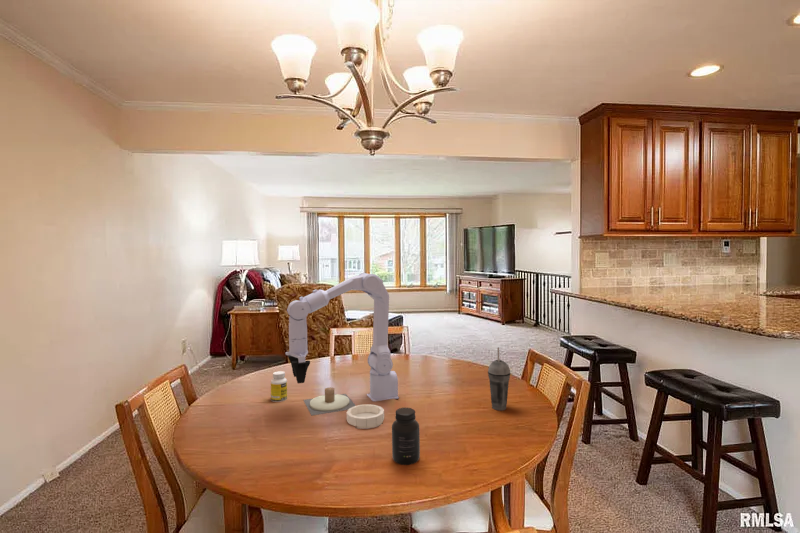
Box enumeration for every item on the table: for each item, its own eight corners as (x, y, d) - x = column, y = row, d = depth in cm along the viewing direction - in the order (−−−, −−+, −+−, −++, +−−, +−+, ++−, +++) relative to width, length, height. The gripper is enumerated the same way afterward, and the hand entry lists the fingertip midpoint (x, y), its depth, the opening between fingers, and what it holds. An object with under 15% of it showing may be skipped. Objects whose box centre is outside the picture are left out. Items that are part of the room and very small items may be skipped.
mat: (345, 395, 147) (345, 393, 147) (357, 409, 133) (357, 407, 133) (303, 401, 141) (303, 399, 141) (311, 417, 128) (311, 415, 127)
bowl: (376, 411, 132) (376, 402, 131) (389, 424, 121) (388, 414, 121) (343, 417, 127) (342, 407, 127) (353, 431, 117) (353, 420, 117)
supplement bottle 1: (282, 403, 139) (282, 375, 139) (268, 403, 140) (267, 374, 140) (290, 398, 145) (289, 370, 144) (275, 397, 146) (275, 370, 145)
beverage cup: (512, 405, 135) (512, 345, 135) (508, 413, 129) (508, 350, 128) (490, 402, 138) (490, 343, 138) (485, 410, 132) (485, 348, 131)
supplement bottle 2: (391, 452, 104) (390, 406, 104) (417, 451, 105) (417, 405, 105) (393, 466, 97) (392, 416, 97) (421, 465, 98) (421, 415, 98)
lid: (343, 394, 146) (343, 380, 146) (354, 407, 134) (353, 392, 134) (306, 400, 141) (306, 385, 141) (314, 413, 129) (313, 398, 129)
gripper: (282, 334, 138) (283, 374, 138) (288, 343, 124) (289, 387, 125) (304, 333, 141) (304, 372, 141) (311, 341, 127) (312, 384, 128)
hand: (298, 379), depth 133 cm, fingers open, 7 cm apart
